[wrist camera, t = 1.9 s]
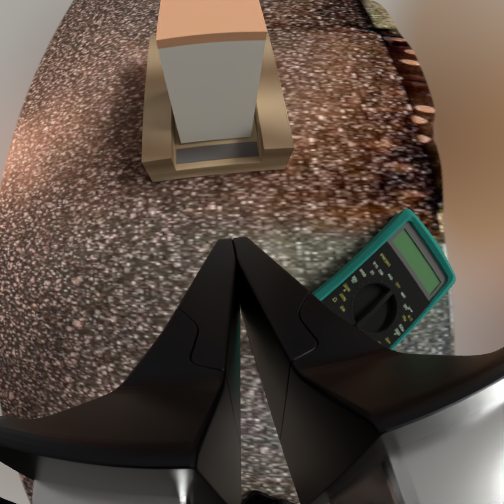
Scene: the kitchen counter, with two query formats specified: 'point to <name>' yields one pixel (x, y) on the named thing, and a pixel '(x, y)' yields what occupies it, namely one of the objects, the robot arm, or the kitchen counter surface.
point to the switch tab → (211, 65)
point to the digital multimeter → (390, 281)
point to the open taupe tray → (214, 151)
